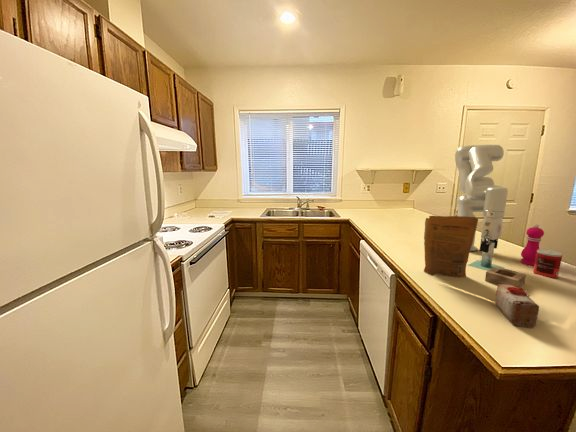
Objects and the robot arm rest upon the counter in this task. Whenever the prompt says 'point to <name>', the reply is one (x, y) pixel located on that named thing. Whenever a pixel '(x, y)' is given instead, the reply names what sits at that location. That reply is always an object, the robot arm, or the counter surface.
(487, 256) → the steel pin
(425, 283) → the counter surface
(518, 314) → the food item
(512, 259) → the counter surface
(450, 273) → the pancake mix bag
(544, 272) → the canned food
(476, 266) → the mat
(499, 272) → the socket block
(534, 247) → the pepper mill
